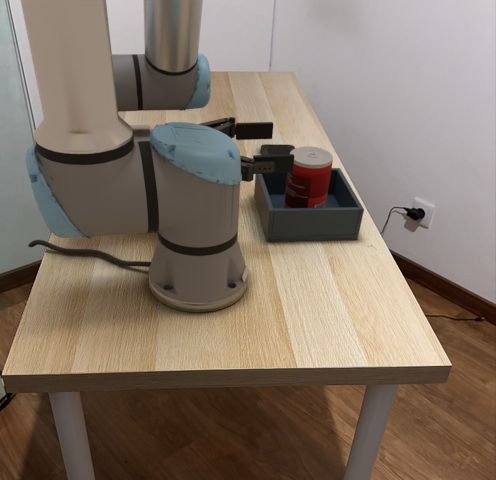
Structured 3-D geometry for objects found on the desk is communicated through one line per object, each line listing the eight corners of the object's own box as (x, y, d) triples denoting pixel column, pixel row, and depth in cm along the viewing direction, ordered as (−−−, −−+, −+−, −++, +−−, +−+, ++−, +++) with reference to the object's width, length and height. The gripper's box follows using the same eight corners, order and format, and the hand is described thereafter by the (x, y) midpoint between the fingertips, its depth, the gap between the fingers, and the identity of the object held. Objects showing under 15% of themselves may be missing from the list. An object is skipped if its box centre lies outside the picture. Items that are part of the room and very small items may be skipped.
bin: (266, 241, 94) (269, 210, 90) (253, 197, 106) (255, 168, 102) (357, 239, 96) (364, 209, 92) (334, 196, 108) (339, 167, 104)
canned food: (323, 204, 103) (332, 148, 96) (324, 225, 97) (333, 166, 90) (284, 200, 104) (290, 144, 96) (282, 220, 98) (288, 162, 90)
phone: (293, 144, 124) (305, 172, 113) (293, 149, 124) (305, 177, 113) (259, 144, 123) (268, 172, 112) (259, 149, 123) (268, 177, 113)
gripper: (150, 142, 97) (263, 139, 101) (163, 209, 80) (299, 201, 84) (147, 99, 92) (266, 97, 96) (160, 160, 75) (306, 154, 79)
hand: (282, 146), depth 90 cm, fingers open, 13 cm apart
